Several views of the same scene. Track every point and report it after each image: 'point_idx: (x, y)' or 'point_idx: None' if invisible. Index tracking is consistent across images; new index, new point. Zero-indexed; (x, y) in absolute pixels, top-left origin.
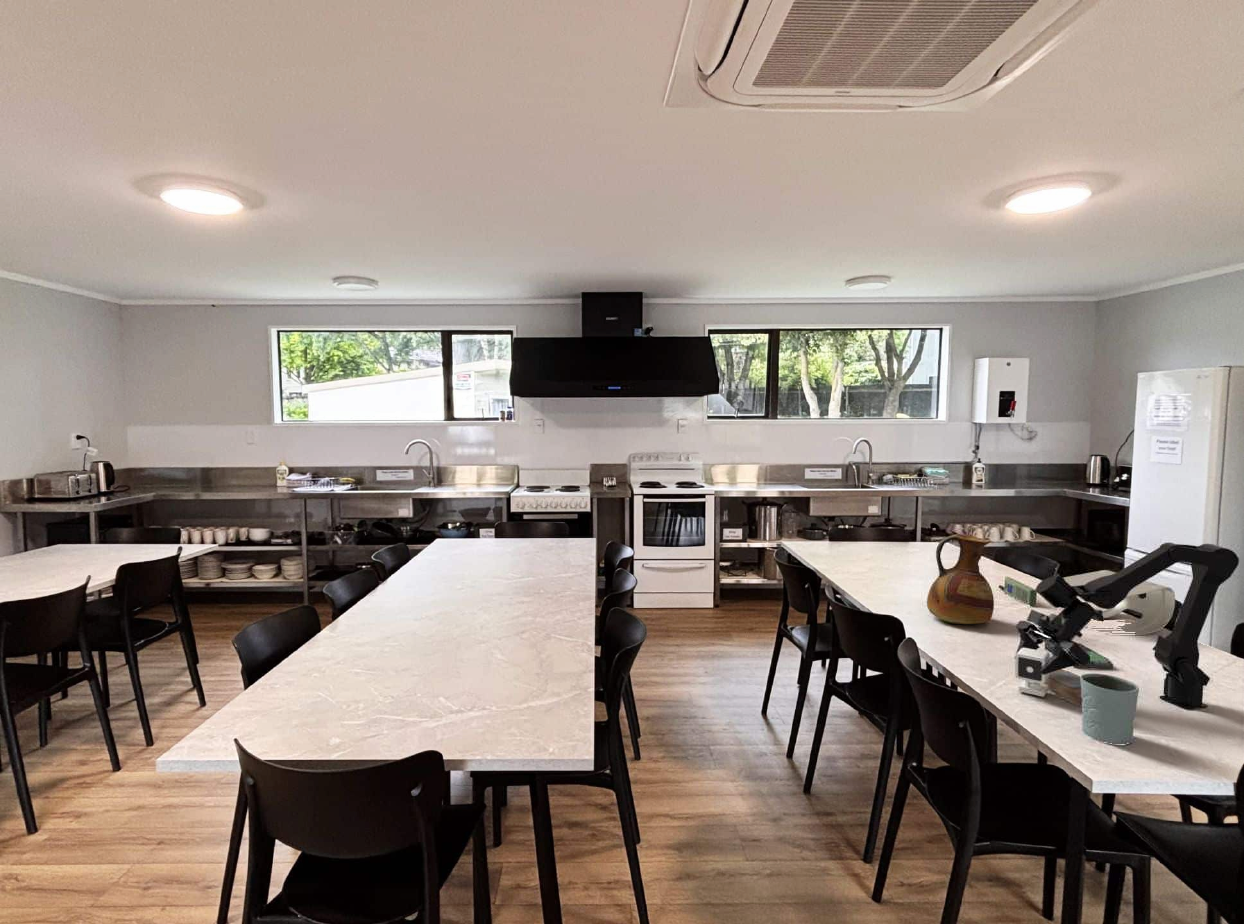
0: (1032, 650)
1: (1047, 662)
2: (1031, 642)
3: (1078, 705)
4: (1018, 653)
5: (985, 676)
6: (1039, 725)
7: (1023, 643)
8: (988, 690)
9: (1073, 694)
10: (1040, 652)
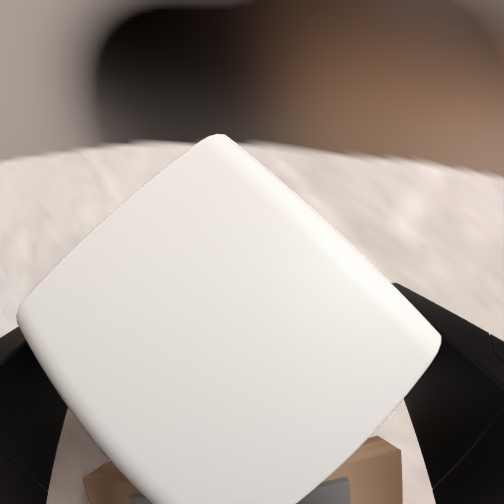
0: (313, 410)
1: (16, 344)
2: (495, 490)
3: (110, 463)
4: (218, 148)
5: (441, 254)
6: (20, 192)
7: (493, 374)
8: (291, 175)
9: (119, 477)
10: (215, 465)
